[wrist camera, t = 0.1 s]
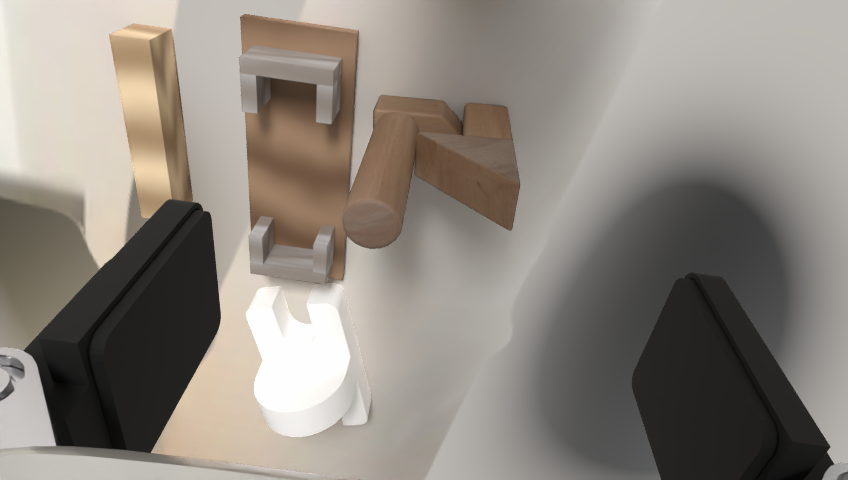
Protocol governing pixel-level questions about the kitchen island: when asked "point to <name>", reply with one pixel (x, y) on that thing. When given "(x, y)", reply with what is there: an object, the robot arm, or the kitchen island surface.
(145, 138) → the oak slat
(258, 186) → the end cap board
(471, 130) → the wooden block
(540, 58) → the kitchen island surface
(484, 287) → the kitchen island surface
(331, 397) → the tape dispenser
